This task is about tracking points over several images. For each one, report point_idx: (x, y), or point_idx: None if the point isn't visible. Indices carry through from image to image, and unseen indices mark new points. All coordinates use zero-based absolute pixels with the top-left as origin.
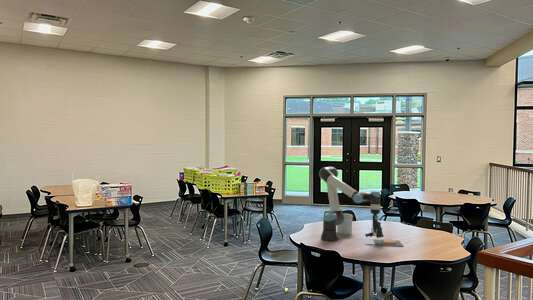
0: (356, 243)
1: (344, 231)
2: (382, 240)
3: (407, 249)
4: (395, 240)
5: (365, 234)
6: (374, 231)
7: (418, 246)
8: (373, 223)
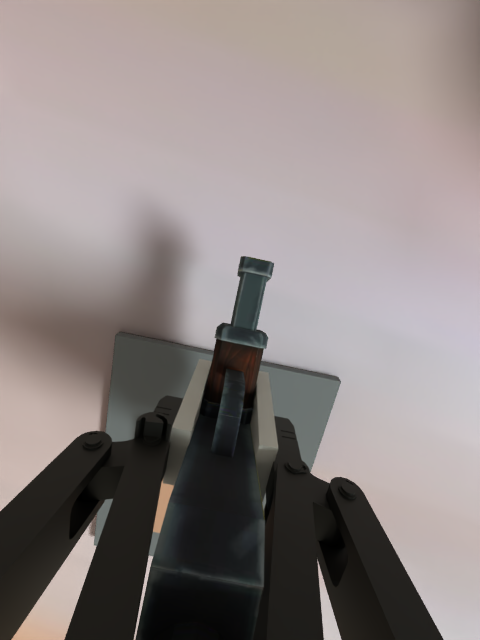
0: (200, 113)
1: None
2: None
3: None
4: None
5: (248, 258)
6: (155, 408)
7: None
8: (171, 550)
